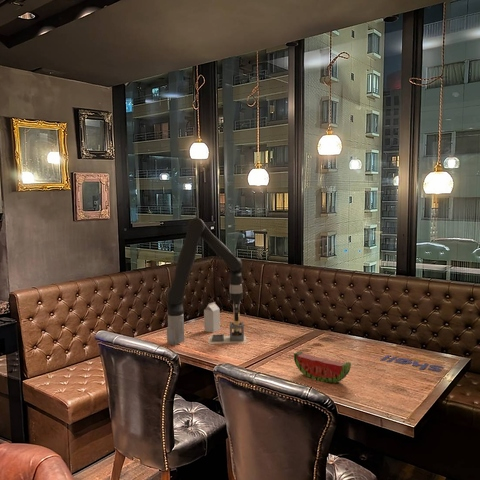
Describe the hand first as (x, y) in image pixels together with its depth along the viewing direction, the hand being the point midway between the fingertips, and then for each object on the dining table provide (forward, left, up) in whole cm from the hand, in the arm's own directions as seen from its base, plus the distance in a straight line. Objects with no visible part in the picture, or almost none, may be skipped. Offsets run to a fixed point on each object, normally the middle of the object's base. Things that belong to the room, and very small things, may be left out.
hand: (236, 319), depth 255 cm
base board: (-5, +5, -14) cm, 15 cm away
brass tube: (0, 0, -12) cm, 12 cm away
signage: (+34, -89, -14) cm, 97 cm away
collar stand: (-4, +4, -12) cm, 13 cm away
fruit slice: (-12, -67, -14) cm, 70 cm away
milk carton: (+2, +25, -14) cm, 28 cm away
